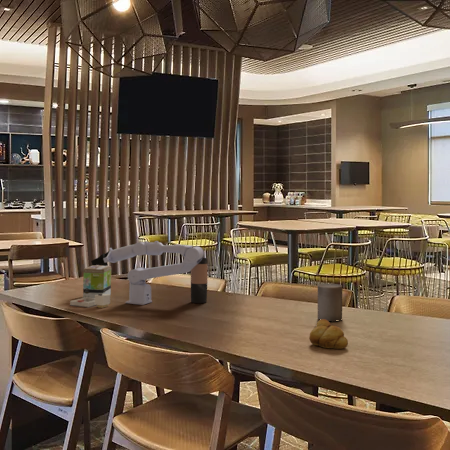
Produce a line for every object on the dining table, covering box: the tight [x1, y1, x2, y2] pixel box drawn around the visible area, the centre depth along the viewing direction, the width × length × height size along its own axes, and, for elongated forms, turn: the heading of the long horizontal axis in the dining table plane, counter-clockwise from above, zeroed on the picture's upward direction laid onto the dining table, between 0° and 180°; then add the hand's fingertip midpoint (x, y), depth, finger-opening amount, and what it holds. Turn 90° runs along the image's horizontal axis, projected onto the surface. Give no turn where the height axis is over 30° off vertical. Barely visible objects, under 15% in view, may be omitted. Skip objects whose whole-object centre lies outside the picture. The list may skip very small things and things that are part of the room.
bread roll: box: [309, 319, 349, 350], centre depth 182 cm, size 13×10×8 cm
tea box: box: [82, 265, 112, 298], centre depth 267 cm, size 15×10×15 cm, turn 179°
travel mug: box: [190, 257, 208, 304], centre depth 257 cm, size 8×8×20 cm
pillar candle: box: [317, 282, 343, 321], centre depth 222 cm, size 10×10×15 cm
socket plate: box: [69, 297, 97, 309], centre depth 250 cm, size 10×11×3 cm
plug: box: [95, 293, 111, 309], centre depth 245 cm, size 4×5×6 cm
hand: (95, 261), depth 258 cm, fingers open, 7 cm apart
